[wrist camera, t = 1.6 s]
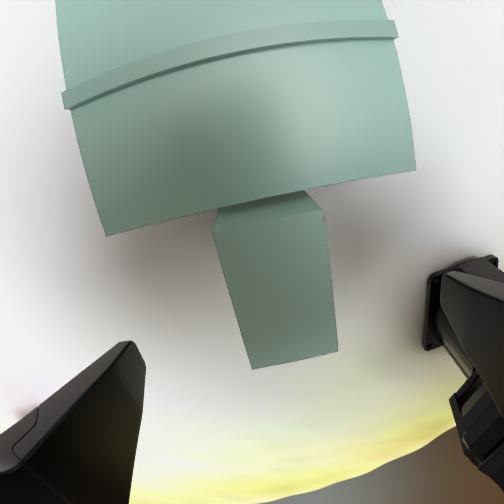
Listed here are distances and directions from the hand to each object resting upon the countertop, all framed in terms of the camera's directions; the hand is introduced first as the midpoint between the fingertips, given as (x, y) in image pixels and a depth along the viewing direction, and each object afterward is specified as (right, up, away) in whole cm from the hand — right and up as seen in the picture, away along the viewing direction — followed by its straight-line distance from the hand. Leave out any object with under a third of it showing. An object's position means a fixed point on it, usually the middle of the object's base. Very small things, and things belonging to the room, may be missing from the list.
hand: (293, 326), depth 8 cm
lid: (-2, +8, +1) cm, 9 cm away
